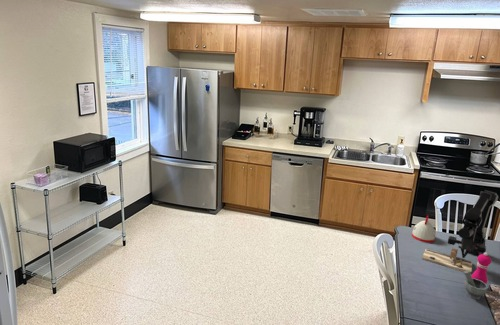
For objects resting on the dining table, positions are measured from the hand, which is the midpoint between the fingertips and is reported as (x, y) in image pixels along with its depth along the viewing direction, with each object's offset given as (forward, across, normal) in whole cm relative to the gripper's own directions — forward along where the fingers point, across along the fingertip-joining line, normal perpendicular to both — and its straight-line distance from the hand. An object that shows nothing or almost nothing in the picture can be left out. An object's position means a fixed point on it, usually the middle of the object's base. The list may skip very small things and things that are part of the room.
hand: (463, 257), depth 209 cm
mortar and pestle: (+4, +6, -30) cm, 31 cm away
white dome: (+4, -24, +22) cm, 33 cm away
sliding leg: (+2, -5, -2) cm, 6 cm away
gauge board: (+4, -8, -2) cm, 9 cm away
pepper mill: (+4, +8, -20) cm, 23 cm away
